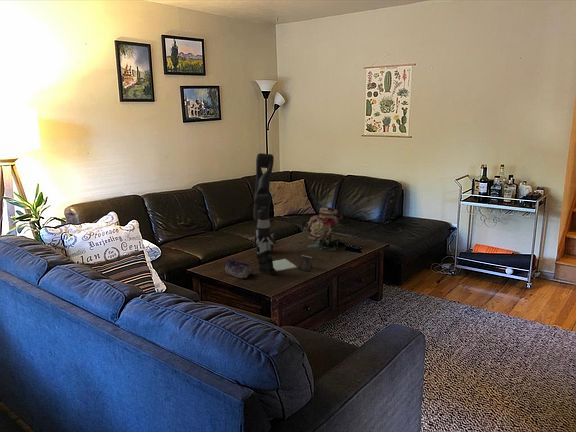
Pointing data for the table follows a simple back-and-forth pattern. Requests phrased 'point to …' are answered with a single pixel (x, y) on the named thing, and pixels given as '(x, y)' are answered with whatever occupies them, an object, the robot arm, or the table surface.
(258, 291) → the table surface
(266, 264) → the black red yellow block
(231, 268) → the geode
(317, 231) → the rose bouquet
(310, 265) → the portable electronic device stand
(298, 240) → the table surface
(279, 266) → the sage mat
